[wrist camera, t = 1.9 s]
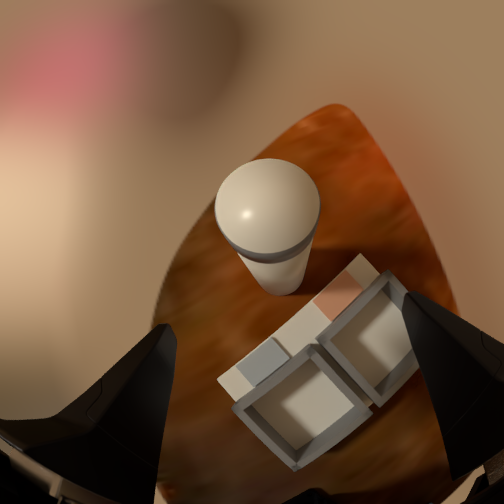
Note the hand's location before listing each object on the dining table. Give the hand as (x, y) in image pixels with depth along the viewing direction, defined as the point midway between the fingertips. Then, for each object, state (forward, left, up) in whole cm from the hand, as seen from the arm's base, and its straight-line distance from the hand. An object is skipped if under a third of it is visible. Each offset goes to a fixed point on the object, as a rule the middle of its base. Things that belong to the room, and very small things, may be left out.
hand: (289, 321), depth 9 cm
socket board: (0, -5, -12) cm, 13 cm away
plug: (+2, +4, -12) cm, 13 cm away
